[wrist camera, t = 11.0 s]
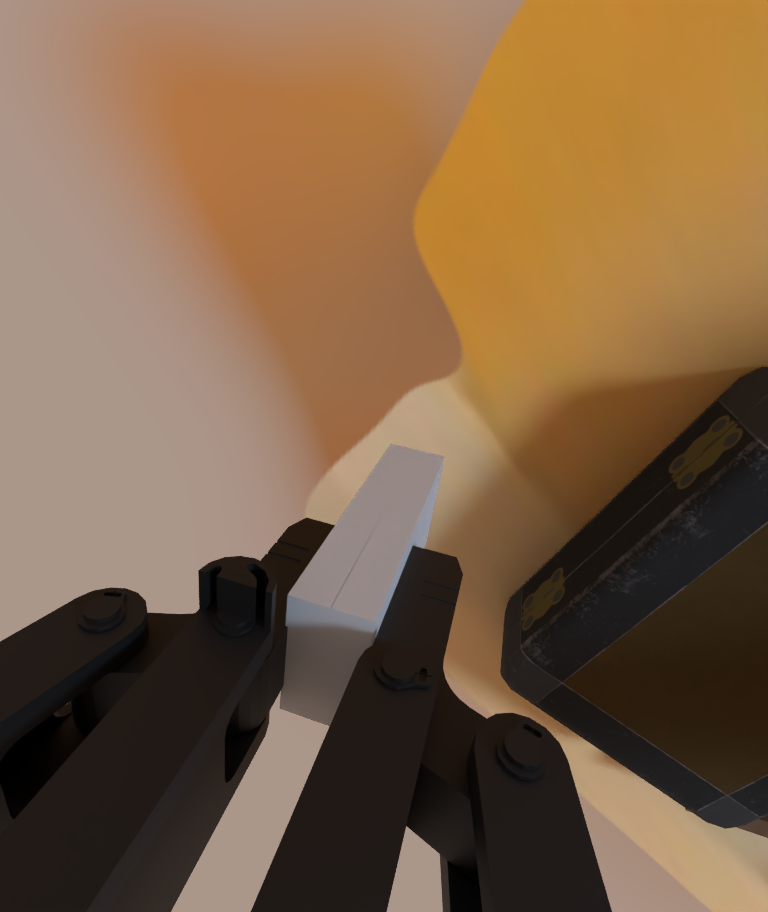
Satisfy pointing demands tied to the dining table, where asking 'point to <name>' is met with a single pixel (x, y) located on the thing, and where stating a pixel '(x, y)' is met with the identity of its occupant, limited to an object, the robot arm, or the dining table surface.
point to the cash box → (666, 618)
